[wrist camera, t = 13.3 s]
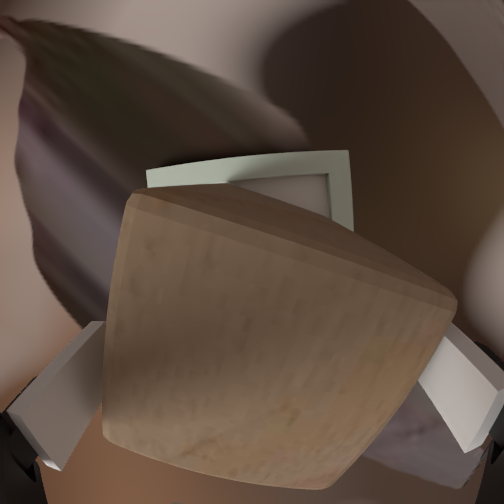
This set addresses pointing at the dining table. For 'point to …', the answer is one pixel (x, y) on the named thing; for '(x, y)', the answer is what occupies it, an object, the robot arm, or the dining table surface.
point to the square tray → (276, 179)
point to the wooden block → (258, 336)
